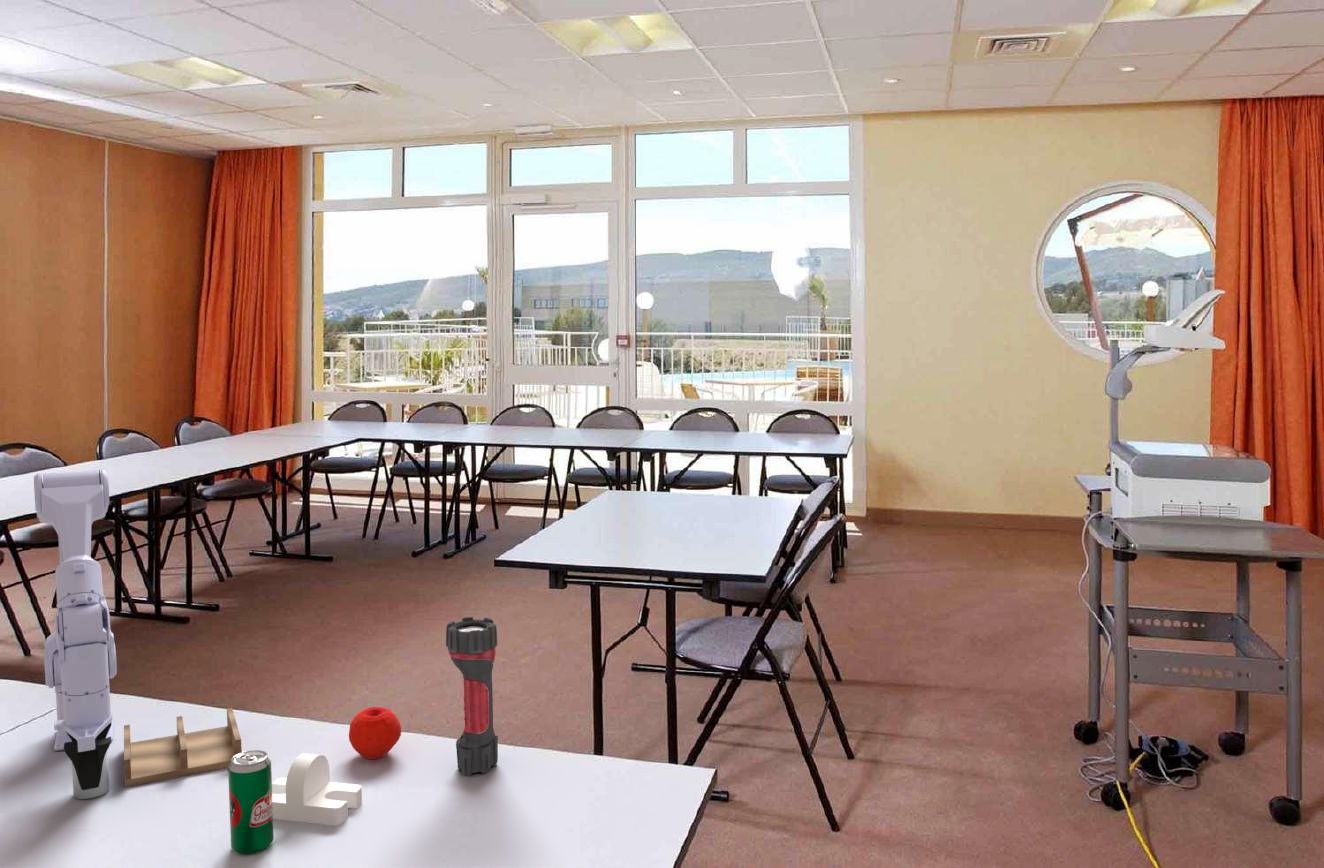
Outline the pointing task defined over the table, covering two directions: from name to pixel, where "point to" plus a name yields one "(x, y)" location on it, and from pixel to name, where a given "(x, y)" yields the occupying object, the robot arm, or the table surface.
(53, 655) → the robot arm
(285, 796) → the slotted bracket
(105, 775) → the cylinder
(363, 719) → the apple
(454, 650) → the flashlight
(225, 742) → the rack
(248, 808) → the soda can
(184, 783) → the table surface
